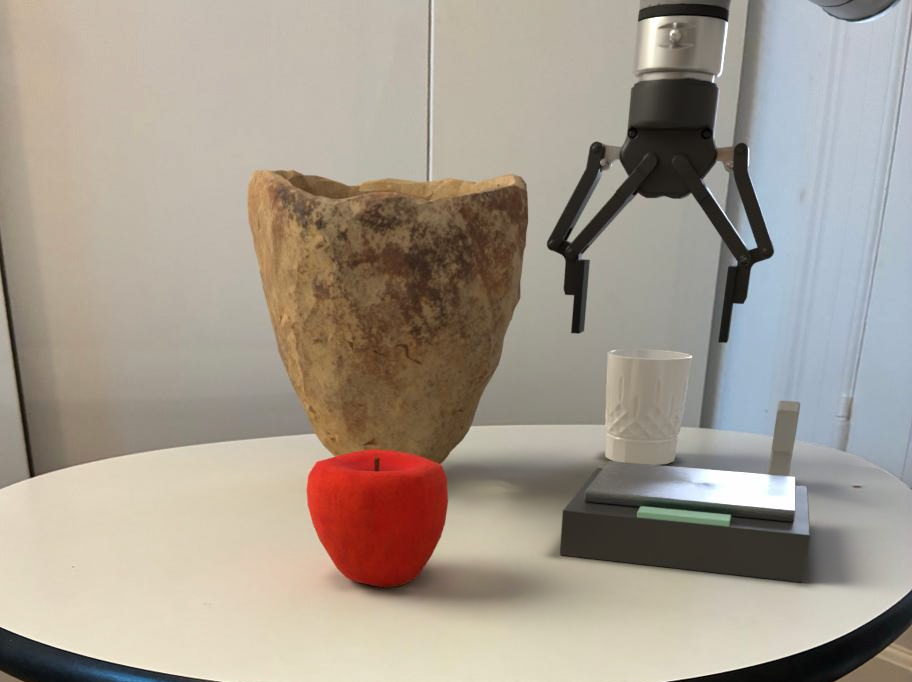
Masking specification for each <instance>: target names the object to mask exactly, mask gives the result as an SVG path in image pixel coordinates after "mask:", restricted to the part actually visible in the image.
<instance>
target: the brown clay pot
mask: <svg viewBox="0 0 912 682" xmlns="http://www.w3.org/2000/svg"><path fill="white" fill-rule="evenodd" d="M527 187H528V186H527V183H526V181H525V180H524V179H523V177H522V176H520V175H517V174H514V173H509V174H503V175H498V176H495V177H493V178H491V179H483V180H481V181H478V182H476V181H470V180H464V179H459V178H458V179H457V178H452V177H448V178H443V179H436V180H429V181H416V180H410V179H409V180H408V179H401V178H390V177H386V178H380V179H379V178H378V179H372V180H367V181H364V182H361V183H359V184H358V183H357V184H356V185H348V184H345V183H343V182H340V181H337V180H334V179H330V178H327V177H325V176H324V177H323V176H320V175H313V174H303V173H301V172H299V171H297V170H295V169H289V170H284V169H283V170H282V169H276V170H269V169H261V170H259V169H257V170H254V172H252V175H251V179H250V180H249V183H248V187H247V217H248V219H247V220H248V224H249V225H248V226H249V228H250V232H251V236H252V240H253V248H254V251H255V254H256V259H257V263H258V265H259V275H260V279H261V284H262V290H263V294H264V298H265V301H266V305H267V310H268V313H269V318H270V322H271V326H272V331H273V333H274V336H275V341H276V342H275V343H276V347H277V351H278V353H279V356H280V359H281V361H282V364H283V367H284V369H285V371H286V373H287V376H288V378H289V381H290V383H291V387H292V388H293V391H294V392H295V394H296V396H297V399H298V401H299V403H300V405H301V407H302V408H303V411H304V412H305V416H306V417H307V419H308V421H309V423H310V426H311V428H312V430H313V432H314V434H315V436H316V438H318V440H319V442H320V443H321V444H322V445H323V447H324V448H325V449H327V451H328V452H329V453H330V454H332V456H333V457H336V456H339V455H344V454H348V453H352V452H356V451H363V450H370V449H375V450H393V451H398V452H404V453H409V454H413V455H417V456H421V457H424V458H426V459H428V460H431V461H433V462H436V463H439V464H441V465H442V463H443V462H445V460H446V459H448V457H449V455H450V454H451V452H452V451H453V450H454V449H455V448H456V447H457V446H458V445H459V444H460V443H462V441H463V440H464V438H465V437H466V435H467V434H468V433H469V431H470V429H471V427H472V425H473V422H474V419H475V417H476V416H475V415H476V413H477V409H478V406H479V404H480V402H481V401H480V400H481V398H482V396H483V394H484V392H485V390H486V388H487V386H488V384H489V383H490V382H491V380H492V378H493V376H494V374H495V372H496V371H497V368H498V366H499V365H500V361H501V357H502V353H503V348H504V342H505V337H506V334H507V331H508V329H509V326H510V323H511V321H512V319H513V316H514V314H515V313H514V312H515V309H516V308H517V306H518V304H519V302H520V300H521V298H522V297H521V281H522V280H521V279H522V273H523V264H524V263H523V262H524V252H525V249H526V247H527V232H528V226H529V225H528V224H529V201H528V200H529V199H528V198H529V197H528V189H527Z"/></svg>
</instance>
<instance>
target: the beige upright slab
mask: <svg viewBox="0 0 912 682" xmlns="http://www.w3.org/2000/svg"><path fill="white" fill-rule="evenodd" d="M800 411H801V403H800V402H799V401H793V400H792V401H791V400H779V401H778V403H777V410H776V415H775V423H774V429H773V430H774V431H773V436H772V437H773V438H772V444H771V451H770V452H771V453H770V459H769V465H768V473H767V475H777V476H788V477H790V473H791V472H790V471H791V465H792V458H793V453H794V448H795V442H796V441H795V440H796V436H797V429H798V423H799V416H800Z"/></svg>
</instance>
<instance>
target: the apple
mask: <svg viewBox="0 0 912 682" xmlns="http://www.w3.org/2000/svg"><path fill="white" fill-rule="evenodd" d="M448 491H449V489H448V475H447V473H446V472H445V470H444V467H443V465H442V463H441V464H439V463H436V462H433V461H431V460H428V459H426V458H424V457H421V456H417V455H413V454H409V453H404V452H398V451H393V450H375V449H370V450H363V451H356V452H352V453H348V454H344V455H339V456H336V457H335V456H333V457H328V458H325V459H320V460H317V461H316V462H315V464H314V465H313V467H312V468H311V470H310V471H309V473H308V475H307V482H306V500H307V501H306V502H307V509H308V511H309V516H310V519H311V522H312V525H313V528H314V530H315V534H316V535H317V537H318V539H319V542H320V543H321V545H322V547H323V549H324V550H325V551H326V553H327V554H328V556H329V557H330V560H331V561H332V563H333V565H334V566H335V568H336V569H337V570H338V571H339V572H340V573H341V574H342V575H343V576H344V577H345V578H346V579H348V580H350V581H352V582H356V583H360V584H365V585H370V586H374V587H379V588H389V587H399V586H402V585H404V584H407V583H410V582H412V581H414V580H415V579H416V578H417V577H418V576H420V574H421V573H422V572H423V570H424V568H425V567H426V565H427V563H428V562H429V560H430V559H431V557H432V556H433V553H434V551H435V550H436V547H437V546H438V543H439V542H440V540H441V538H442V534H443V532H444V528H445V524H446V520H447V514H448V505H449V493H448Z"/></svg>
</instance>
